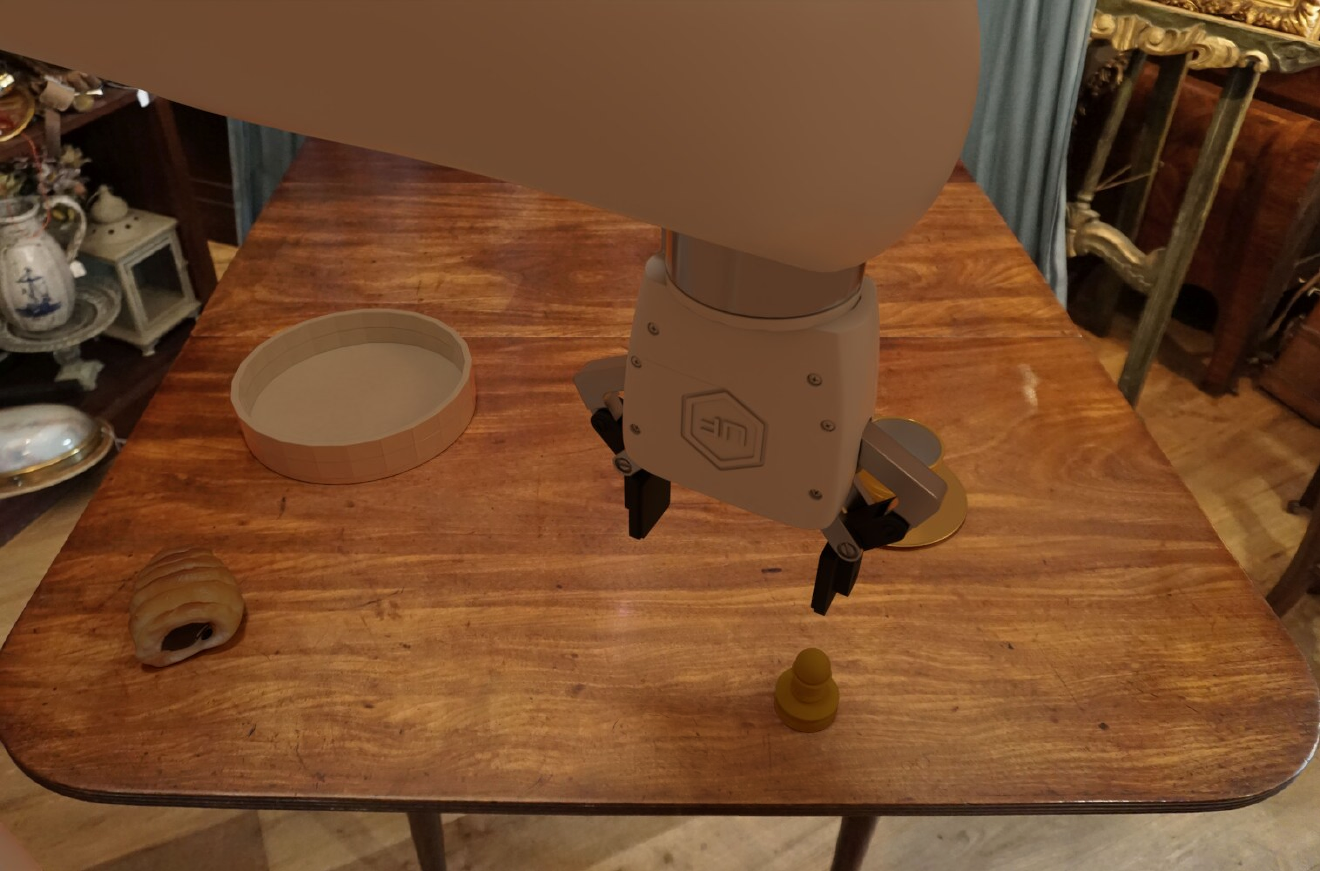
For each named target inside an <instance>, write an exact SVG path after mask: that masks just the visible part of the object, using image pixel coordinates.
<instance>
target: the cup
mask: <svg viewBox="0 0 1320 871" xmlns="http://www.w3.org/2000/svg"><path fill="white" fill-rule="evenodd" d="M874 424H875V425H876V426H878V427H879V428H880V429H881V430H883V431H884V432H885V433H886V434H888V435H889V436H890V437H891V438H892V439H894V440H895V441H896V442H897V443H899V444H900V445H901V446H902V447H904V448H905V449H906V450H907V451H908V452H910V453H911V454H912V455H913V456H915V457H916V458H917V459H918V460H920V461H921V462H922V463H923V464H924V465H926V466H927V467H928V468H929V469H931V470H932V471H933V472H934V473H936V474H937V475H938V476H939V477H940V478H942V479H943V480H944V481H945V482H946V483H947V486H948V491H947V494H946V496H945V498H944V500H943V503H942V505H941V507H940V509H939V510H938V512H936V513H935V514H934V515H932V516H931V517H930V518H928V519H927V520H926V521H924V522H923V523H922V524H920V525H919V526H918V527H916V528H913V529H912V530H910V531H909V532H908V533H906V535H905V537H904V539H903V540H901V541H899V542H895V543H892V544H889V545H887V546H889V547H898V548H899V547H900V548H908V547H909V548H910V547H922V546H926V545H930V544H934V543H937V542H940V541H941V540H944V539H946V538H947V537H949V536H950V535H952V534H953V533H955V532H956V531H957V530H958V529H959V528H960V526H962V524H963V523H964V521H965V519H966V516H967V513H968V505H969V500H968V496H967V492H966V488H965V487H964V484H963V483H962V482H961V480H960V479H959V477H958V476H957V475H956V474H955V473H954V471H953V470H952V469H951V468H950V467H948V466H947V465H946V464H945V463H944V462H943V460H944V458H945V454H946V446H945V442H944V440H943V439H942V437H941V436H940V434H939V433H938V432H937V431H936V430H935V429H933V428H932V427H931V426H929V425H927V424H926V423H924V422H922V421H920V420H917V419H914V418H912V417H907V416H904V415H903V416H902V415H882V414H881V413H875V417H874ZM857 476H858V477H859V479H860V480H861V482H862V483H863V485H864V487H865V488H866V490H867V491H868V493H869V494H870V496H871V497H872V499H873V501H874V502H875V503H877V502H880V501H883V500H886V499H889V498H892V497H895V496H896V495H895V494H894V493H893V492H891V491H890V490H889V489H888V488H887V487H885V486H884V485H883V484H882V483H880V482H879V481H878V480H877V479H875V478H874V477H873V476H872V475H871V474H869V473H868V472H867V471H866V470H864V469H862V470H861V471H860V472H859V473H858V474H857ZM842 510H843V512H844V513H847V511H846V510H845V508H844V507H843V508H842Z"/></svg>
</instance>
